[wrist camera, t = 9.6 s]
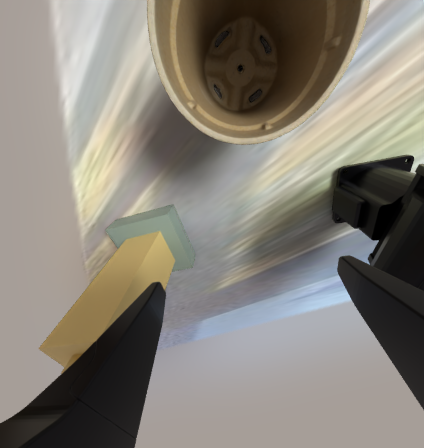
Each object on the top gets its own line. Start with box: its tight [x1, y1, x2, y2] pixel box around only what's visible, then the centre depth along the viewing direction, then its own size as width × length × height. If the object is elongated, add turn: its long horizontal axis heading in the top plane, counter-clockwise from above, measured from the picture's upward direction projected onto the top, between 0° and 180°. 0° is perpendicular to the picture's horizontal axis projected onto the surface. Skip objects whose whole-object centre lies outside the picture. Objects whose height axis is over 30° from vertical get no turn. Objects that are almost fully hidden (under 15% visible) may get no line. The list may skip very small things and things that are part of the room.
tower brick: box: [39, 231, 175, 374], centre depth 17 cm, size 4×4×13 cm
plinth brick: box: [105, 205, 195, 272], centre depth 24 cm, size 8×8×2 cm
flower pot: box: [147, 0, 370, 145], centre depth 12 cm, size 9×9×9 cm
